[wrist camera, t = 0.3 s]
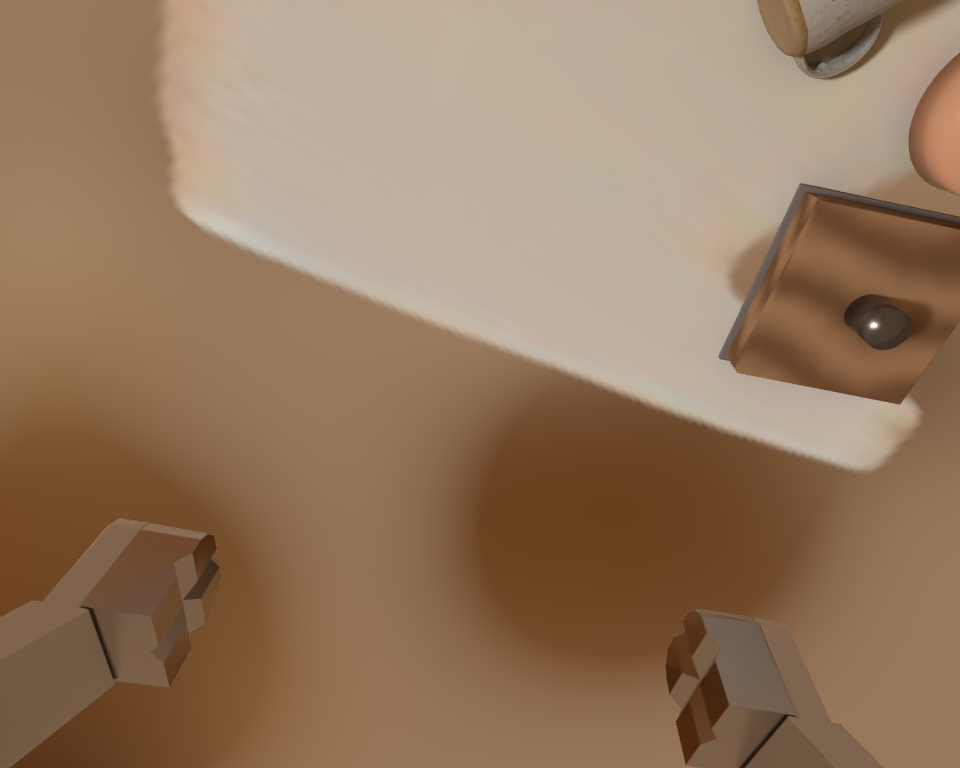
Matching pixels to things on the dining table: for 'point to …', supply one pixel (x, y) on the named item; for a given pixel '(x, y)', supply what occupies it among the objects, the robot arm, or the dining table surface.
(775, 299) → the lid
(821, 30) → the ceramic mug
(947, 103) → the bowl
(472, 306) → the dining table surface
